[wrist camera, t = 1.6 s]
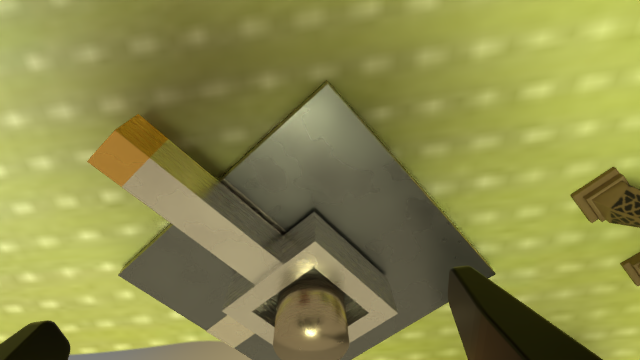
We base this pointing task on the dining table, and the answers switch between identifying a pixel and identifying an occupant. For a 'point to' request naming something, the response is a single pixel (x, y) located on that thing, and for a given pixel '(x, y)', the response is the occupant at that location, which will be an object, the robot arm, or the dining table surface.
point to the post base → (338, 212)
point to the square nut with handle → (242, 233)
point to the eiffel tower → (612, 208)
